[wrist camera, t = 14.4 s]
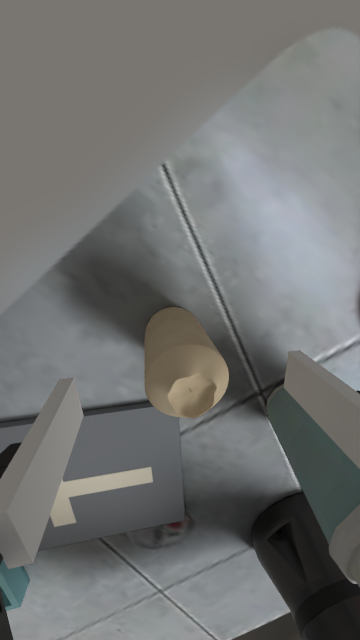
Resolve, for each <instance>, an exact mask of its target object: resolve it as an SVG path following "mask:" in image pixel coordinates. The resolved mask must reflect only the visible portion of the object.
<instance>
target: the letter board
mask: <svg viewBox="0 0 360 640" xmlns="http://www.w3.org/2000/svg"><path fill="white" fill-rule="evenodd" d="M83 415H84V416H83V419H82V422H81V425H80V428H79V431H78V434H77V437H76V440H75V443H74V446H73V449H72V451H71V454H70V457H69V460H68V463H67V466H66V469H65V472H64V475H63V478H62V481H61V484H60V487H59V490H58V493H57V495H56V498H55V501H54V504H53V507H52V510H51V513H50V516H49V519H48V522H47V525H46V528H45V531H44V534H43V537H42V540H41V542H40V545H39V548H38V551H39V550H44V549H49V548H54V547H59V546H64V545H68V544H73V543H78V542H83V541H88V540H93V539H97V538H102V537H107V536H112V535H117V534H122V533H126V532H131V531H136V530H141V529H146V528H151V527H156V526H160V525H165V524H170V523H175V522H180V521H185V509H184V493H183V477H182V461H181V445H180V429H179V417H174V416H170V415H167V414H164V413H162V412H160V411H159V410H158V409H156V408H155V407H154V406H153V405H152V404H151V403H150V402H148V403H140V404H133V405H126V406H119V407H111V408H104V409H97V410H90V411H83ZM35 420H36V418H32V419H25V420H17V421H10V422H3V423H0V453H1V452H3V451H4V450H5V449H6V448H7V447H8V446H9V445H10V444H14V443H20V442H23V440H24V439H25V437H26V435H27V434H28V432H29V430H30V428H31V427H32V425H33V423H34V422H35Z"/></svg>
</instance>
